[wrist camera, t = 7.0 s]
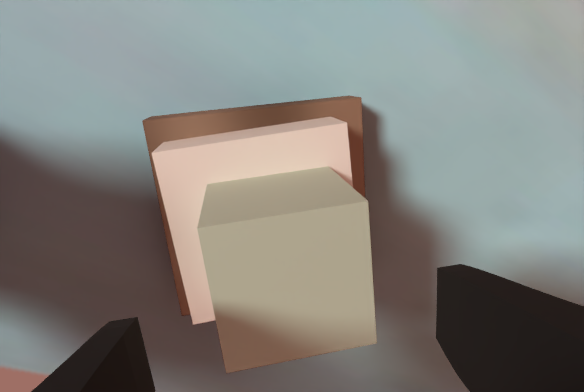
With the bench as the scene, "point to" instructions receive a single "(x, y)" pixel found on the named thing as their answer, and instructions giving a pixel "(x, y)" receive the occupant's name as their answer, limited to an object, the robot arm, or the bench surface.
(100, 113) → the bench surface
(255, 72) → the bench surface
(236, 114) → the walnut base slab
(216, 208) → the beige cube
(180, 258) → the cream top slab
